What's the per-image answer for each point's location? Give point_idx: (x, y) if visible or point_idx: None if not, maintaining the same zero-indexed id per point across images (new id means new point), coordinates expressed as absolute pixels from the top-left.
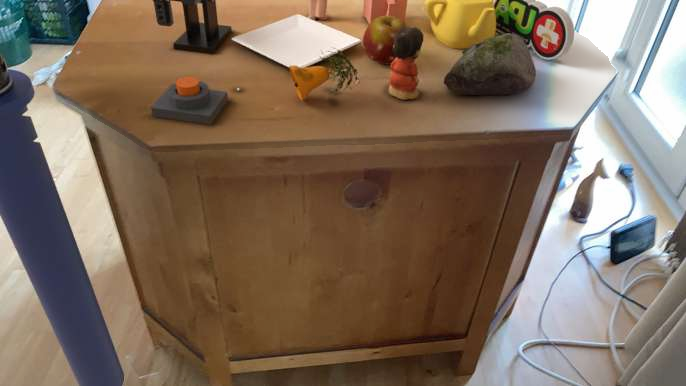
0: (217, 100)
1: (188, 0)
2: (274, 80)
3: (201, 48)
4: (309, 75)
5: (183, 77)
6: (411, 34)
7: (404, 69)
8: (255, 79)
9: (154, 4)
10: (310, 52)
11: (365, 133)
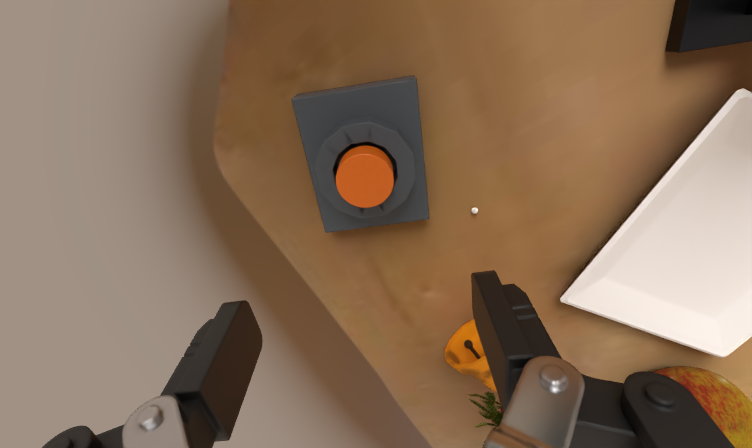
0: (387, 218)
1: (475, 311)
2: (538, 252)
3: (683, 12)
4: (478, 378)
5: (381, 161)
6: None
7: None
8: (534, 218)
9: (163, 392)
10: (676, 278)
11: (409, 406)
